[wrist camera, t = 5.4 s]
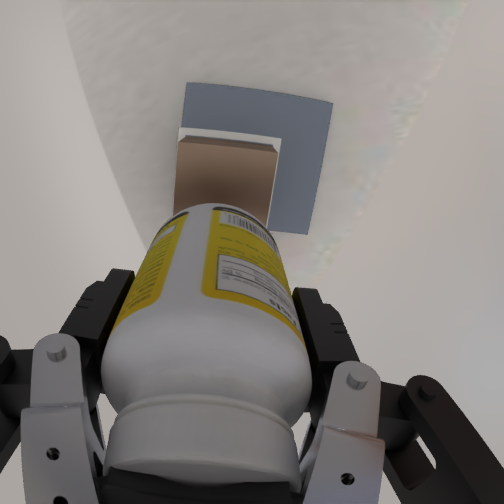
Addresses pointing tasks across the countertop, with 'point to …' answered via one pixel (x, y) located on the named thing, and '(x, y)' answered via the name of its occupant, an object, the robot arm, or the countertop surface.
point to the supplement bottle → (208, 357)
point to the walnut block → (224, 175)
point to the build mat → (267, 140)
